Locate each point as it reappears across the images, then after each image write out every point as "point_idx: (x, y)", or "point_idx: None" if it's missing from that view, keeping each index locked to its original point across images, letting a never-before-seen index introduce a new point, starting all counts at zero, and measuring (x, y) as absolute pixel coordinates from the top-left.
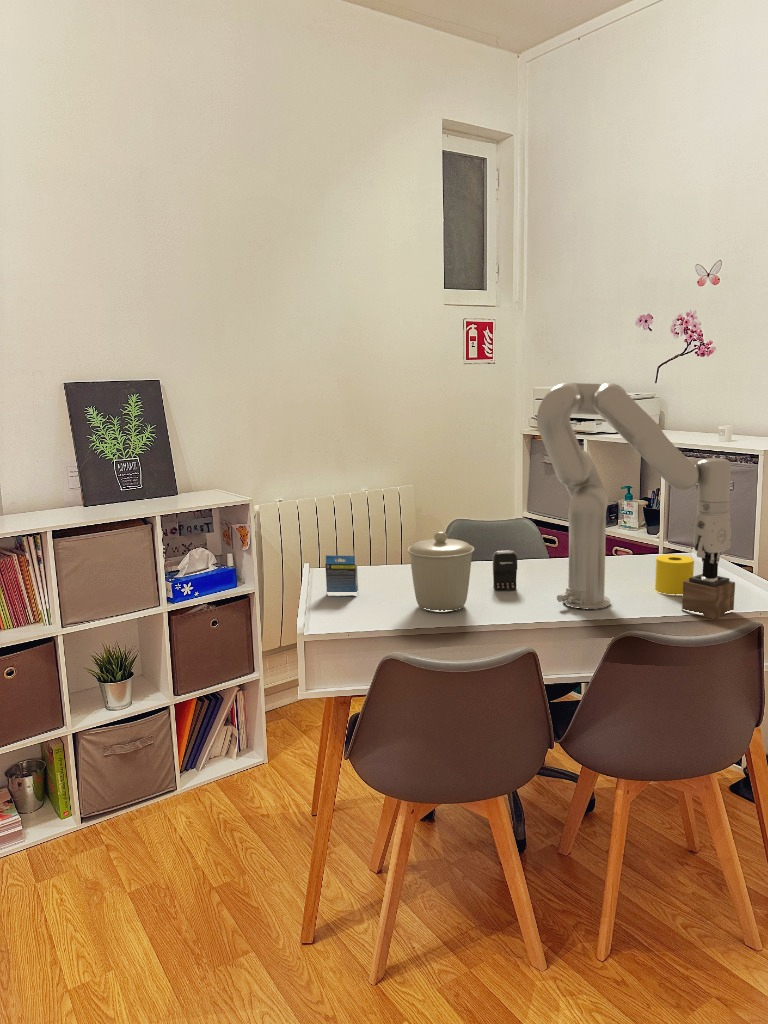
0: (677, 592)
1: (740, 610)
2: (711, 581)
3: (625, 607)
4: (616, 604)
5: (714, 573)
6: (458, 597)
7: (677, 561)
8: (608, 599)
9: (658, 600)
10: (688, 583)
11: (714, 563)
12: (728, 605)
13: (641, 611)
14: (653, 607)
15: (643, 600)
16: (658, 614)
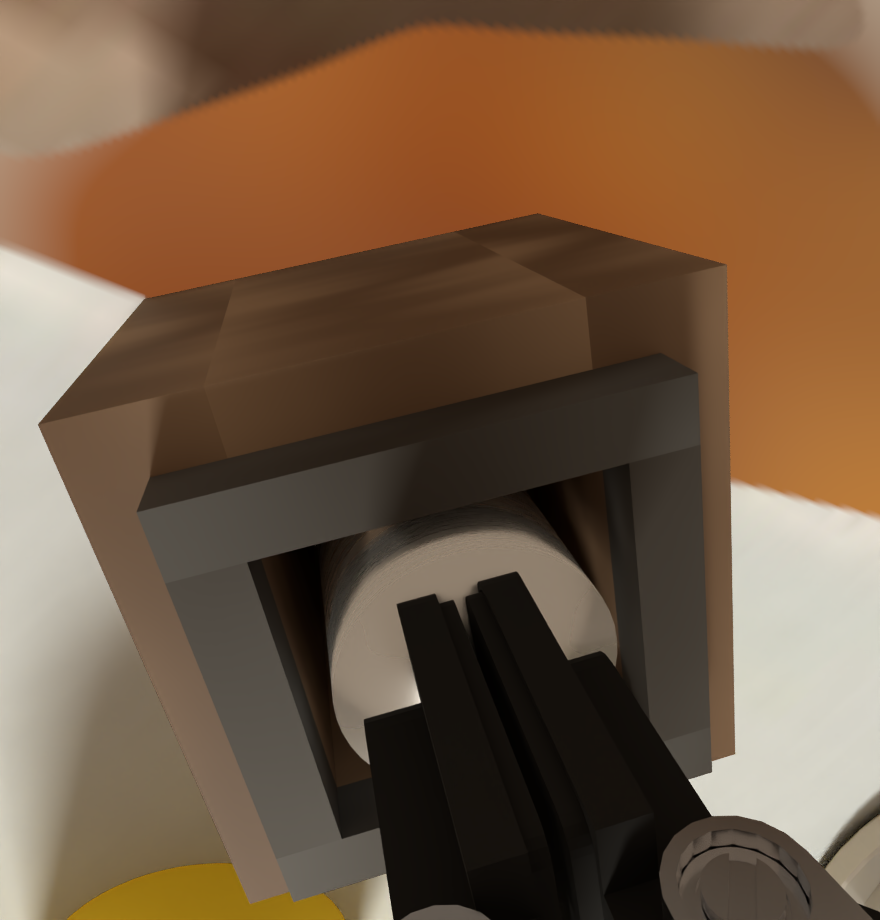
0: (276, 899)
1: (9, 313)
2: (541, 541)
3: (829, 753)
4: (816, 819)
5: (528, 628)
6: None
7: None
8: (866, 869)
9: None
10: (725, 682)
11: (634, 829)
12: (255, 294)
13: (827, 649)
14: None
15: None
16: (798, 546)
